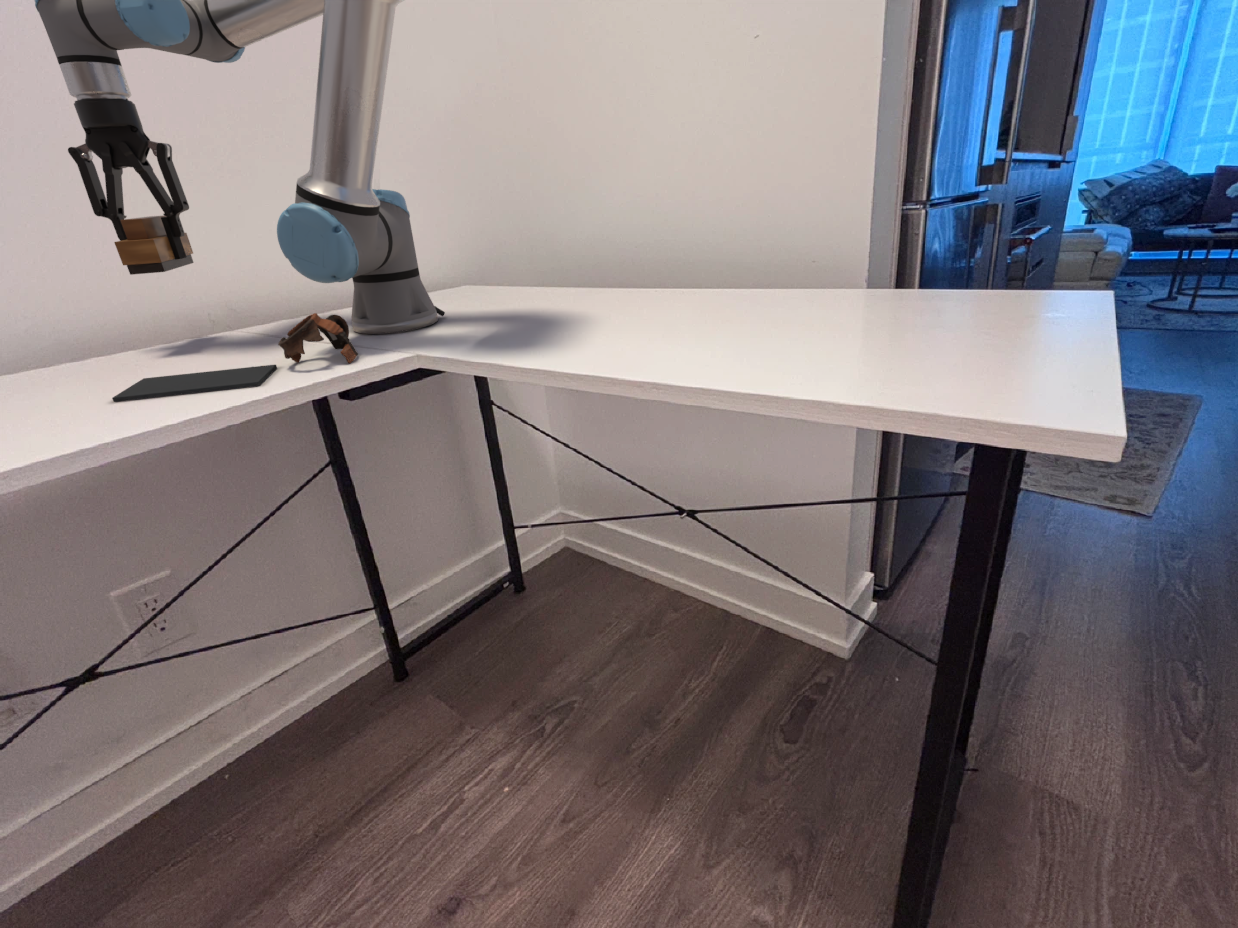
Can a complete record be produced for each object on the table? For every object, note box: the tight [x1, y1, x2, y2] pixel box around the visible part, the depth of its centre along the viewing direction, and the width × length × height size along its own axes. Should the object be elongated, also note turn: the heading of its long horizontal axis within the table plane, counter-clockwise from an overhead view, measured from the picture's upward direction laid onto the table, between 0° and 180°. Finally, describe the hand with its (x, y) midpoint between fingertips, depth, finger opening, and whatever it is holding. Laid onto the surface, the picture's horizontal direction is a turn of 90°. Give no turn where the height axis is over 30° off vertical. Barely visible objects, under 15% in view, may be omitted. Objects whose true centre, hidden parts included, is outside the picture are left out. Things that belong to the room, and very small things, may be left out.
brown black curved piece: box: [277, 312, 359, 364], centre depth 95 cm, size 12×10×8 cm
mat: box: [111, 364, 278, 403], centre depth 88 cm, size 18×9×1 cm, turn 102°
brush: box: [113, 214, 195, 276], centre depth 102 cm, size 13×6×8 cm, turn 13°
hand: (160, 259), depth 104 cm, fingers closed on brush, 6 cm apart
